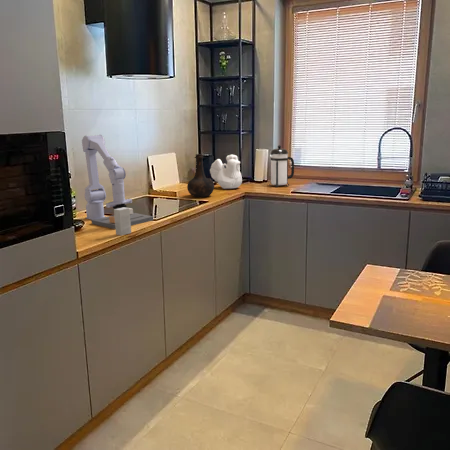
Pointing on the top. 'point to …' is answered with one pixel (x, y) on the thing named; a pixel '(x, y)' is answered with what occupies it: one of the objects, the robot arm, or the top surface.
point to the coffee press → (280, 167)
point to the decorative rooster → (227, 172)
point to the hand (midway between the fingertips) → (120, 219)
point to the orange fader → (112, 219)
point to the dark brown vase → (200, 180)
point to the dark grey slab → (134, 220)
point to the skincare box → (122, 221)
